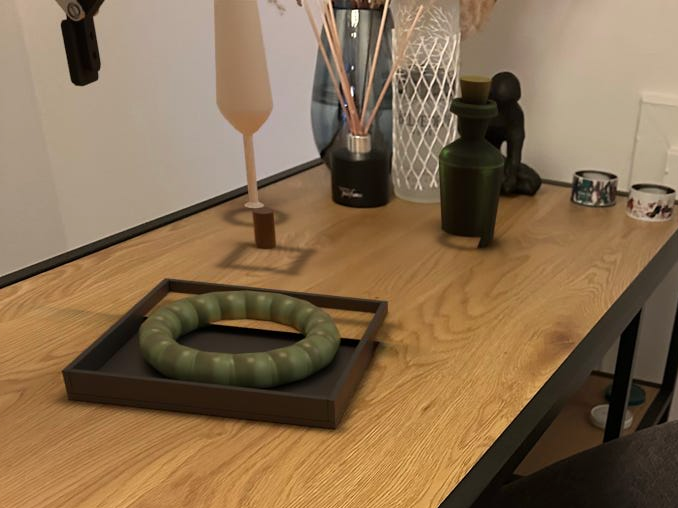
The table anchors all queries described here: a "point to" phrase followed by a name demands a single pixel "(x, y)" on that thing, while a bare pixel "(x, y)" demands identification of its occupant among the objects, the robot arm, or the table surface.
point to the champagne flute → (242, 76)
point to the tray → (256, 404)
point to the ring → (238, 368)
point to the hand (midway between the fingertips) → (21, 76)
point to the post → (264, 228)
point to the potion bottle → (471, 166)
